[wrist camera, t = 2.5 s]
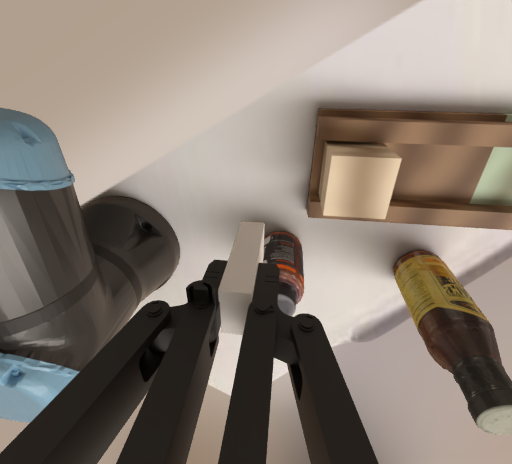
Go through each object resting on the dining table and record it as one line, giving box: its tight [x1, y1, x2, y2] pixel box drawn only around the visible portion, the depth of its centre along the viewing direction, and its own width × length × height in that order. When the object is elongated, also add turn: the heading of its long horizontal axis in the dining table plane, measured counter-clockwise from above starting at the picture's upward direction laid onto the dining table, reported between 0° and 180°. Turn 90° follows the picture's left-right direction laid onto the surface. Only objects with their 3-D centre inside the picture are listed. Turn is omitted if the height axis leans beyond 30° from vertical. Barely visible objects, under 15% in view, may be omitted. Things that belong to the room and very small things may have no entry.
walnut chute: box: [307, 108, 512, 230], centre depth 31 cm, size 24×12×3 cm, turn 89°
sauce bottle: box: [394, 250, 512, 435], centre depth 30 cm, size 7×6×20 cm
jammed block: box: [318, 140, 402, 219], centre depth 29 cm, size 6×6×6 cm
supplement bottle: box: [263, 232, 304, 316], centre depth 35 cm, size 6×6×11 cm
